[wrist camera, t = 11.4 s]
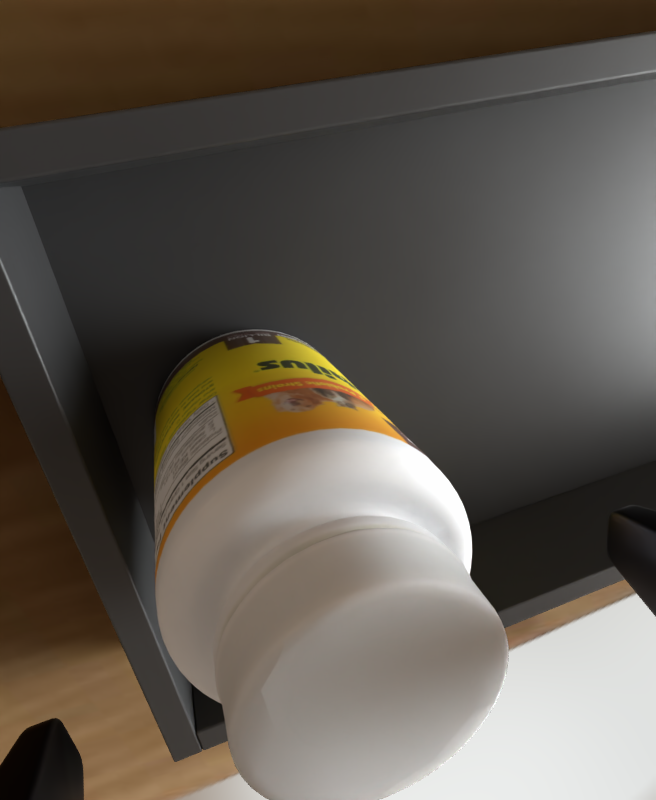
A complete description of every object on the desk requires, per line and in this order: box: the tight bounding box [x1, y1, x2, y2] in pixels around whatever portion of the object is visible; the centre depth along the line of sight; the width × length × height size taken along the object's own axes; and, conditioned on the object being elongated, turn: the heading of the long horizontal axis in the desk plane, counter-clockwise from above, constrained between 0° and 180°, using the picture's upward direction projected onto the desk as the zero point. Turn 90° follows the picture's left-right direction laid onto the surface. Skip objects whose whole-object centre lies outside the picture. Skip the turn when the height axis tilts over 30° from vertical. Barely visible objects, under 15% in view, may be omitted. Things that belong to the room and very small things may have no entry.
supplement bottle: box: [153, 329, 509, 800], centre depth 12 cm, size 6×6×10 cm
